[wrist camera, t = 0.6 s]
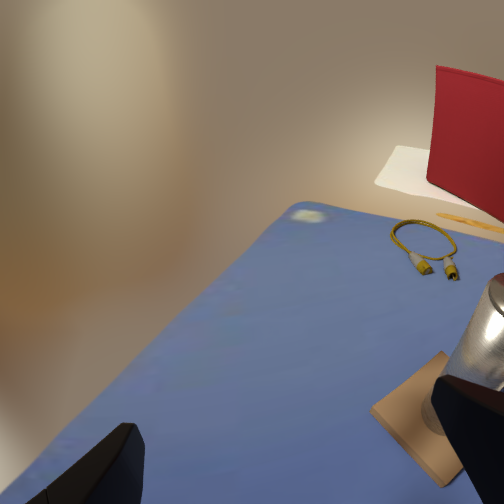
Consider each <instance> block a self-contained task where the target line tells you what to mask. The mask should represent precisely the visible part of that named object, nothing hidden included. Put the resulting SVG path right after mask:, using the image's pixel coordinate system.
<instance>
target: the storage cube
mask: <svg viewBox="0 0 504 504" xmlns="http://www.w3.org/2000/svg"><path fill="white" fill-rule="evenodd" d="M426 179H427V181H429V182H431V183H433V184H435V185H437V186H439V187H441V188H443V189H445V190H447V191H449V192H451V193H453V194H455V195H456V196H458V197H460V198H462V199H464V200H465V201H467V202H469V203H471V204H473V205H474V206H476V207H478V208H479V209H481V210H483V211H484V212H486V213H488V214H489V215H491V216H493V217H494V218H496V219H497V220H499V221H500V222H502V223H504V81H502V80H499V79H496V78H492V77H488V76H484V75H480V74H477V73H472V72H468V71H463V70H459V69H454V68H449V67H444V66H438V65H437V66H436V93H435V107H434V118H433V129H432V139H431V147H430V155H429V161H428V168H427V175H426Z"/></svg>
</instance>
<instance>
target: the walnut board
mask: <svg viewBox="0 0 504 504" xmlns="http://www.w3.org/2000/svg"><path fill="white" fill-rule="evenodd" d="M449 358H450V357H448V356H447V355H446V354H445V353H444V352H443V351H440V352H439V353H438V354H437V355H436V356H435V357H434V358H432V359H431V360H430V361H429V362H428V363H427V364H426V365H424V366H423V367H422V368H421V369H420V370H418V371H417V372H416V373H415V374H414V375H412V376H411V377H410V378H409V379H408V380H406V381H405V382H404V383H403V384H401V385H400V386H399V387H397V388H396V389H395V390H394V391H392V392H391V393H390V394H388V395H387V396H386V397H384V398H383V399H382V400H380V401H379V402H378V403H376V404H375V405H373V406H372V408H371V410H370V411H369V412H370V413H371V414H372V415H373V416H374V417H375V418H376V420H377V421H378V422H379V423H380V424H381V425H382V426H383V427H384V428H385V429H386V430H387V431H388V433H389V434H390V435H391V436H392V437H393V438H394V439H395V440H396V441H397V442H398V443H399V444H400V445H401V446H402V448H403V449H404V450H405V451H406V452H407V453H408V454H409V455H410V456H411V457H412V458H413V459H414V460H415V461H416V462H417V463H418V464H419V466H420V467H421V468H422V469H423V470H424V471H425V472H426V473H427V474H428V475H429V476H430V477H431V478H432V479H433V480H434V481H435V482H436V483H437V484H438V485H439V486H440V488H442V487H444V486H445V485H447V484H448V483H449V482H450V481H451V480H452V479H453V478H454V476H455V475H456V474H457V473H458V472H459V471H460V470H461V469H462V468H463V465H462V463H461V462H460V460H459V458H458V456H457V455H456V453H455V451H454V449H453V448H452V446H451V444H450V442H449V441H448V439H447V437H446V436H440V435H437V434H435V433H434V432H432V431H431V430H430V429H429V428H428V427H427V426H426V424H425V423H424V421H423V418H422V415H421V405H422V402H423V399H424V398H425V396H426V395H427V393H428V392H429V390H430V389H431V387H432V386H433V384H434V383H435V381H436V379H437V378H438V376H439V375H440V373H441V371H442V370H443V368H444V367H445V365H446V363H447V362H448V360H449Z"/></svg>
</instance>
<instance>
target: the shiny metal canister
mask: <svg viewBox="0 0 504 504" xmlns="http://www.w3.org/2000/svg"><path fill="white" fill-rule="evenodd" d="M446 374H449V375H452V376H455V377H458V378H461V379H464V380H467V381H470V382H473V383H476V384H479V385H481V386H484V387H488V388H491V389H494V390H497V391H500V390H501V389H502V388H503V387H504V273H500V274H497V275H496V276H494V277H493V278H492V279H491V280H489V281H488V283H487V285H486V287H485V290H484V292H483V294H482V296H481V298H480V301H479V303H478V305H477V307H476V309H475V311H474V313H473V315H472V317H471V319H470V321H469V323H468V325H467V327H466V329H465V331H464V333H463V335H462V337H461V339H460V341H459V342H458V344H457V346H456V348H455V350H454V351H453V353H452V355H451V356H450V358H449V360H448V362H447V363H446V365H445V367H444V368H443V370H442V371H441V373H440V375H439V376H438V377H440V376H443V375H446ZM434 384H435V383H434ZM434 384H433V386H432V387H431V389H430V390H429V392H428V393H427V395H426V396H425V398H424V399H423V402H422V405H421V415H422V418H423V421H424V423H425V424H426V426H427V427H428V428H429V429H430V430H431V431H432V432H434V433H435V434H437V435H440V436H446V435H445V432H444V430H443V428H442V426H441V423H440V421H439V419H438V417H437V415H436V412H435V410H434V408H433V406H432V403H431V395H432V391H433V388H434Z"/></svg>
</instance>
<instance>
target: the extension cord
mask: <svg viewBox="0 0 504 504" xmlns="http://www.w3.org/2000/svg"><path fill="white" fill-rule="evenodd" d="M412 221H415V222H412ZM405 222H406V223H405ZM420 222H422V223H420ZM402 223H403V224H402ZM424 223H426V224H424ZM406 224H421V225H425V226H428V227H431V228H433V229H435V230H437V231H439V232H441V233H442V234H444V235H445V236H446V237H447V238H448V240H449V241H450V242H451V241H452V242H451V244H452V245H453V247H454V251H453V252H451V253H449V254H448V255H445V256H443V257H440V258H431V257H427V256H423V255H419V254H417V253H415V252H411V251H409V250H408V249H407V248H406V247H405V246H404V245H403V244H402V243H401V242H400V241H399V240H398V239H397V238H396V237H395V235H394V231H395V230H396V229H397V228H399V227H401V226H403V225H406ZM427 224H429V225H427ZM398 225H399V226H398ZM430 225H432V226H430ZM433 226H434V227H433ZM435 227H436V228H435ZM392 236H393V237H394V239H395V240H396V241H397V242H398V243H399V244H400V245H401V246H400V245H399V244H398V243H396V242H395V241H394V239H393V238H392ZM390 238H391V240H392V241H393V242H394V243H395V244H396V245H397V246H398V247H400V248H401V249H403V250H405V251H407V252H408V253H409V258H410V260H411V262H412V264H413V265H414V267H415V268H416V269H417V270H418V271H419V272H420V273H421V274H422V275H426V274H430V273H432V272H433V271H432V267H431V266H430V265H429V264H428V263H427V262H426V261H425V260H424V258H426V259H430V260H441V259H444V260H443V261H444V271H445V273H446V274H447V277H448V276H449V277H450V274H451V275H452V278H453V281H456V279H457V277H458V275H457V272H456V265H455V263H454V262H453V261H452V260H451V259H453V257H451V258H450V257H448V256H450V255H452V254H454V253H455V252H456V244H455V243H454V241H453V239H452V238H451V237H450V236H449V235H448V234H447V233H446V232H445V231H444V230H442V229H441V228H439V227H438V226H436V225H434V224H432V223H429V222H426V221H422V220H404V221H401V222H399V223H397V224H396V225H395V226H394V227H393V228H392V231H391V233H390ZM449 277H448V280H449Z"/></svg>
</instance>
